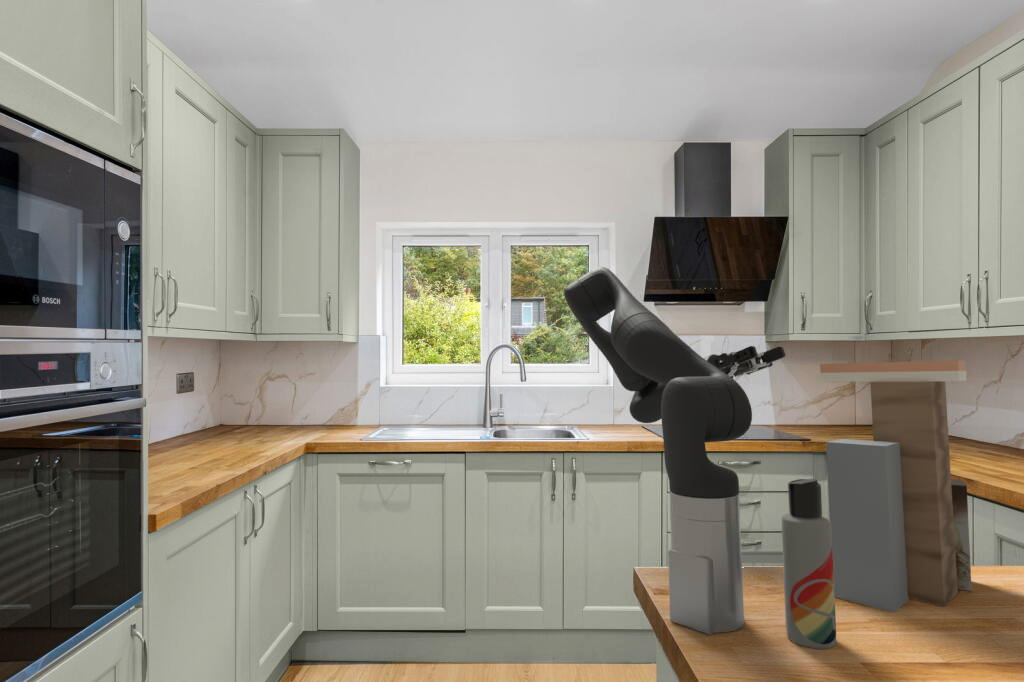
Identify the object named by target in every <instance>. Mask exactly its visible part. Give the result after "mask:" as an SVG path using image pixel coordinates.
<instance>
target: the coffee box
mask: <svg viewBox="0 0 1024 682" xmlns="http://www.w3.org/2000/svg"><path fill="white" fill-rule="evenodd" d="M951 488H952V505H953V522H954V538H955V555H956V572H957V589H958V590H961V591H968V592H972V589H973V588H972V586H973V585H972V573H971V572H972V569H971V567H972V566H971V549H970V547H971V546H970V544H971V543H970V530H969V527H970V526H969V507H968V504H969V503H968V486H967V483H966V482H965V481H963V480H962V479H956V478H951Z"/></svg>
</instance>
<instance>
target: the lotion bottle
mask: <svg viewBox="0 0 1024 682" xmlns="http://www.w3.org/2000/svg"><path fill="white" fill-rule="evenodd" d="M787 490H788V491H787V494H788V510H789V511H788V512H789V513H785V514H783V515H782V516H781V542H782V544H781V545H782V547H781V548H782V564H783V565H782V566H783V589H784V590H783V591H784V609H785V610H784V612H785V613H784V614H785V615H784V616H785V631H786V636H787V637H788V639H789V640H790V641H791V642H793V643H795V644H797V645H800V646H801V647H805V648H809V649H810V648H811V649H818V650H821V649H822V650H824V649H831V648H833V647H834V646H835V645H836V644H837V621H836V619H837V618H836V602H835V601H836V600H835V599H836V597H835V595H834V574H833V552H832V532H831V521H830V518H828V517H827V516H823V508H822V507H823V506H822V486H821V484H820V483H819V482H818V479H815V478H814V479H813V478H810V479H809V478H807V479H805V478H804V479H803V478H801V479H794V480H791V481H789V482H788V483H787Z"/></svg>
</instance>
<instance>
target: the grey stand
mask: <svg viewBox="0 0 1024 682" xmlns="http://www.w3.org/2000/svg"><path fill="white" fill-rule="evenodd" d="M825 447H826V448H825V451H826V472H827V488H828V489H827V490H828V491H827V492H828V496H827V497H828V510H829V511H828V513H829V518H828V519H829V520H830V521H831V532H832V552H833V574H834V595H835V598H836V599H837V598H838V599H840V600H844V601H848V602H853V603H856V604H860V605H864V606H868V607H871V608H876V609H880V610H883V611H888V612H891V613H896V611H898V610H899V609H900V608H902V607H903V606H904V605H906V604H907V603H908V602H909V598H908V588H907V569H906V551H905V533H904V514H903V496H902V477H901V459H900V443H897V442H882V441H873V440H866V439H865V440H864V439H851V438H850V439H849V438H840V439H835V440H829V441H825Z"/></svg>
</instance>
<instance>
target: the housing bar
mask: <svg viewBox="0 0 1024 682" xmlns="http://www.w3.org/2000/svg"><path fill="white" fill-rule="evenodd" d="M819 365H820V366H819V368H820V370H819V371H820V382H821V383H836V382H837V383H838V382H839V383H842V382H843V383H845V382H848V383H852V382H854V383H855V382H858V383H860V382H861V383H862V382H863V383H865V382H866V383H870V382H924V381H945V382H967V368H966V367H967V366H966V365H967V364H966V360H929V361H927V360H925V361H924V360H922V361H920V360H919V361H888V362H887V361H885V362H884V361H883V362H882V361H881V362H845V363H842V362H840V363H820V364H819Z"/></svg>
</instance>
